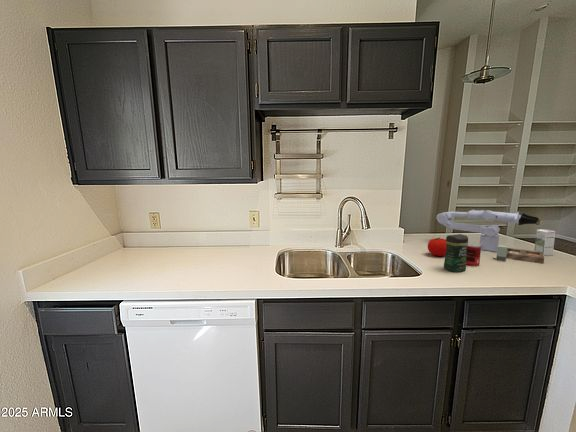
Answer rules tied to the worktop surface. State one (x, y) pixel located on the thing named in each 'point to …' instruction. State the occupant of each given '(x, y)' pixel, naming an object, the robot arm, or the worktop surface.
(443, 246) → the tomato
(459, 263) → the coffee jar
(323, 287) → the worktop surface
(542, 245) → the syrup box
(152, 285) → the worktop surface
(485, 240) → the robot arm
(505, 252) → the grey-green block
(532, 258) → the socket board
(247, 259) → the worktop surface
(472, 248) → the canned food
